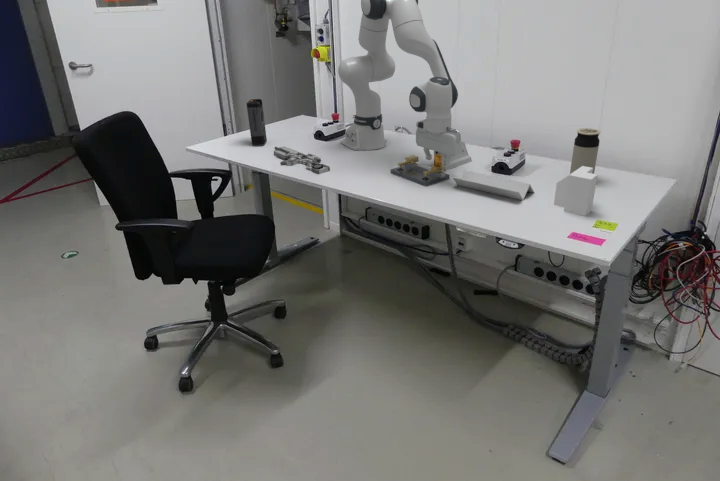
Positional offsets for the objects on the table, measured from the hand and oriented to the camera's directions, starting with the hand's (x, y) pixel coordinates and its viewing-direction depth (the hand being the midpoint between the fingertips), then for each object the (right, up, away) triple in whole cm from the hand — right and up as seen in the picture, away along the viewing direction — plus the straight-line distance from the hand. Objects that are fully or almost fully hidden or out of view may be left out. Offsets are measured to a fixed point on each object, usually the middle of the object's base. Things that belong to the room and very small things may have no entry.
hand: (437, 162), depth 192 cm
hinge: (+8, +2, +18) cm, 20 cm away
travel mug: (+51, -7, -4) cm, 52 cm away
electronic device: (-76, +17, +56) cm, 96 cm away
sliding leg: (-2, -5, +1) cm, 5 cm away
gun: (-56, +4, +29) cm, 63 cm away
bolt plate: (-6, -4, +7) cm, 10 cm away
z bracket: (+18, -12, -9) cm, 23 cm away
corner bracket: (+40, -18, -25) cm, 50 cm away
